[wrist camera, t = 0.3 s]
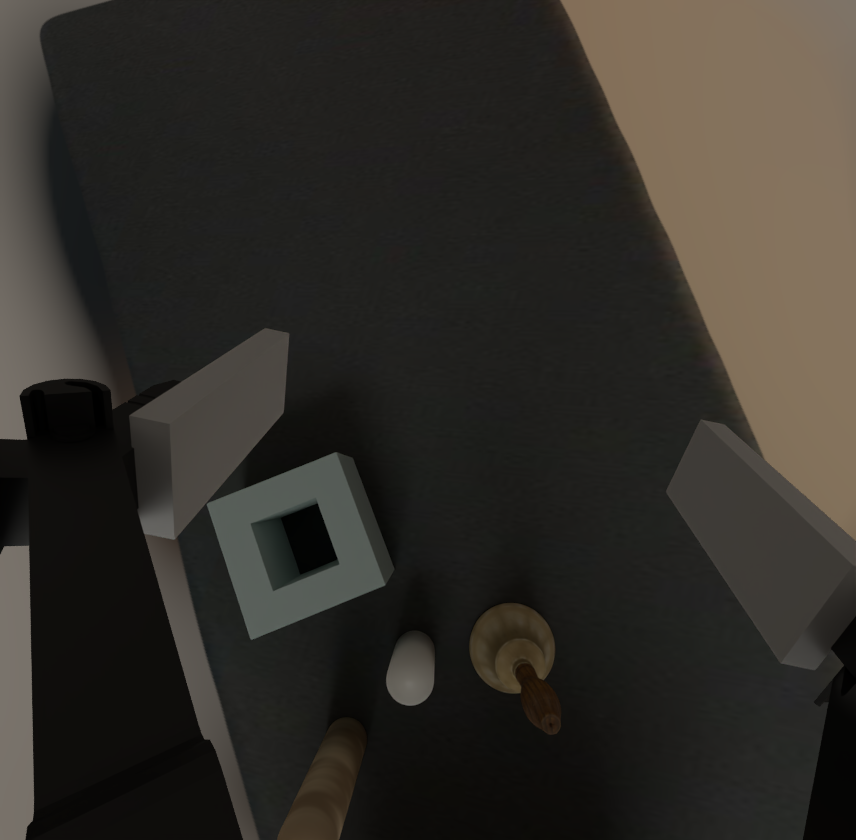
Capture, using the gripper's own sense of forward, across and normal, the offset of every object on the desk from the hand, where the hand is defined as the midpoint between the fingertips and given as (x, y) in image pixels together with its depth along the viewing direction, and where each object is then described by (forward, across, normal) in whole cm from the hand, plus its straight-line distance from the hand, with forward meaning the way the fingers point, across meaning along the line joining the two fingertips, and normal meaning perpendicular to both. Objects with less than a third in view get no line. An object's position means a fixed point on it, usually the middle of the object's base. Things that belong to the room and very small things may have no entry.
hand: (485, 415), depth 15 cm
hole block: (+25, +10, +27) cm, 38 cm away
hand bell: (+20, -11, +32) cm, 40 cm away
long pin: (+14, +3, +42) cm, 45 cm away
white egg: (+19, -2, +34) cm, 39 cm away
